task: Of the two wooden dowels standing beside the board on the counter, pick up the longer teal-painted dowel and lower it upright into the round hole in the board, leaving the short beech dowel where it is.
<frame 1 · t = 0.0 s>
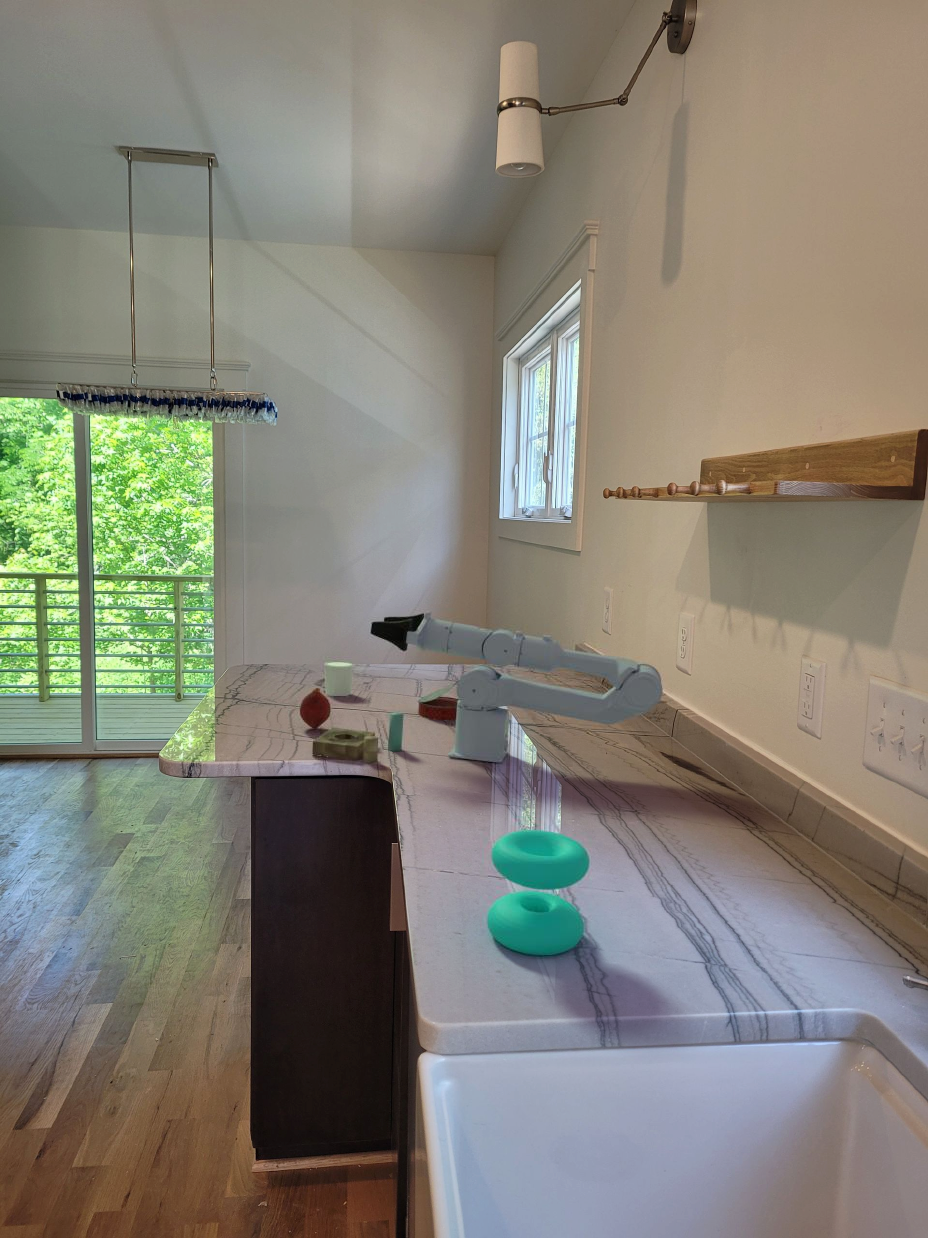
hand: (377, 625, 157), 22 cm above the counter, tool horizontal, fingers open, 7 cm apart
board: (344, 750, 153), on the counter
canned food: (441, 716, 185), on the counter
donuts: (534, 938, 91), on the counter
white short cylinder: (338, 695, 198), on the counter
short dowel: (370, 760, 148), on the counter
long dowel: (394, 749, 156), on the counter
onion: (314, 729, 167), on the counter
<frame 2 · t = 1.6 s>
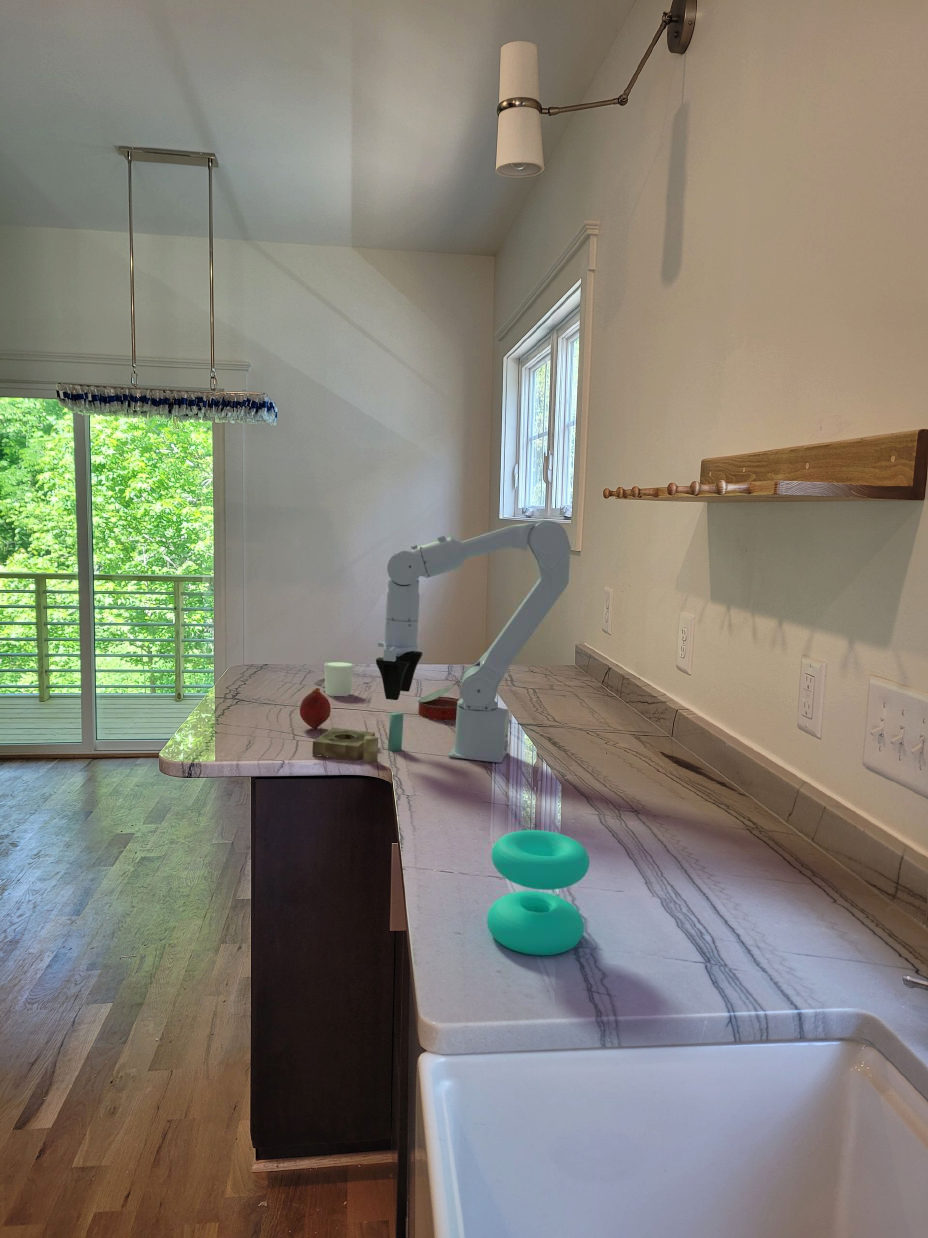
hand: (397, 695, 155), 10 cm above the counter, tool pointing down, fingers open, 7 cm apart
nothing on the counter moved.
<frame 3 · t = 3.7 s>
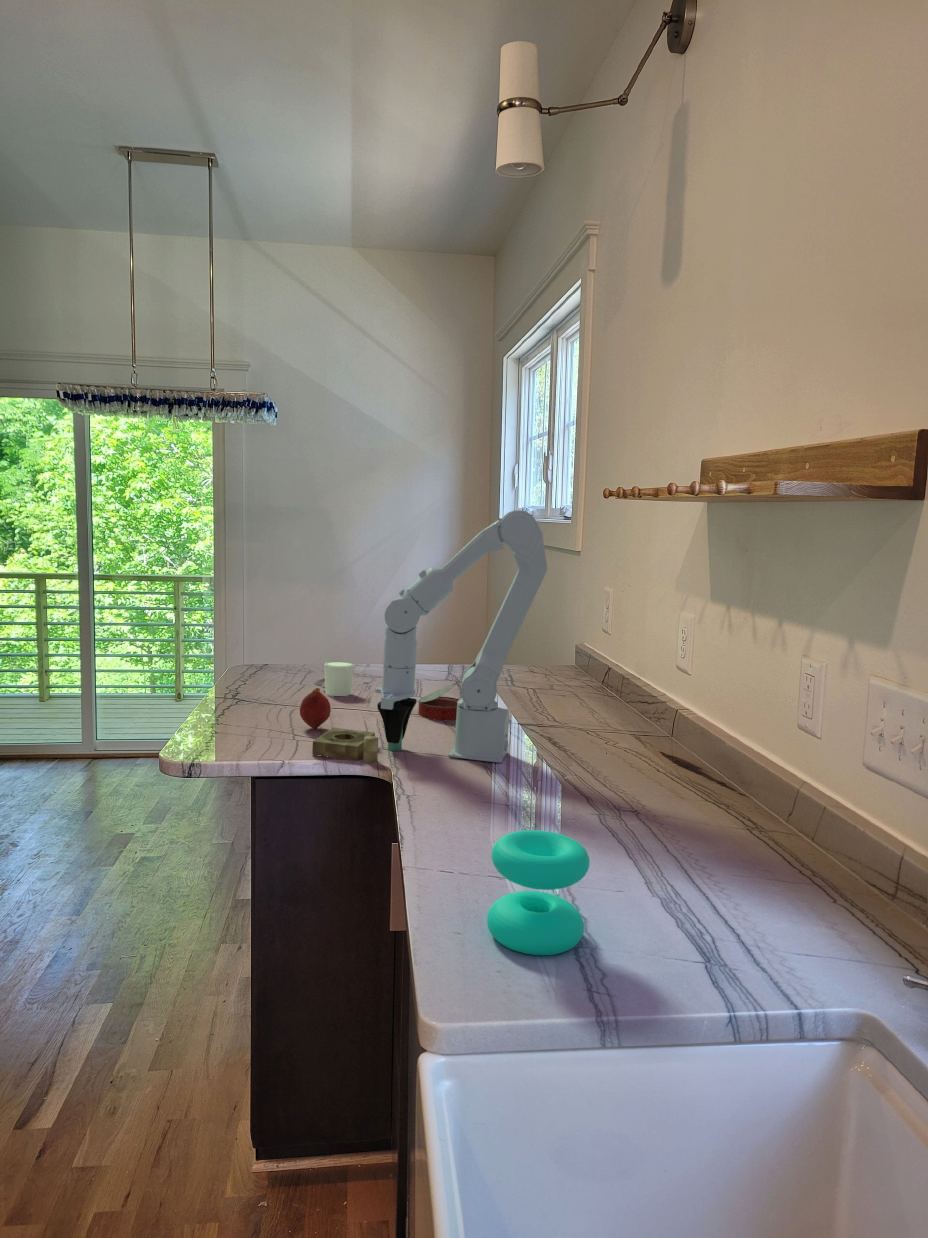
hand: (395, 740, 156), 2 cm above the counter, tool pointing down, fingers closed on long dowel, 2 cm apart
long dowel: (394, 749, 156), on the counter, touching gripper
everything else where it was.
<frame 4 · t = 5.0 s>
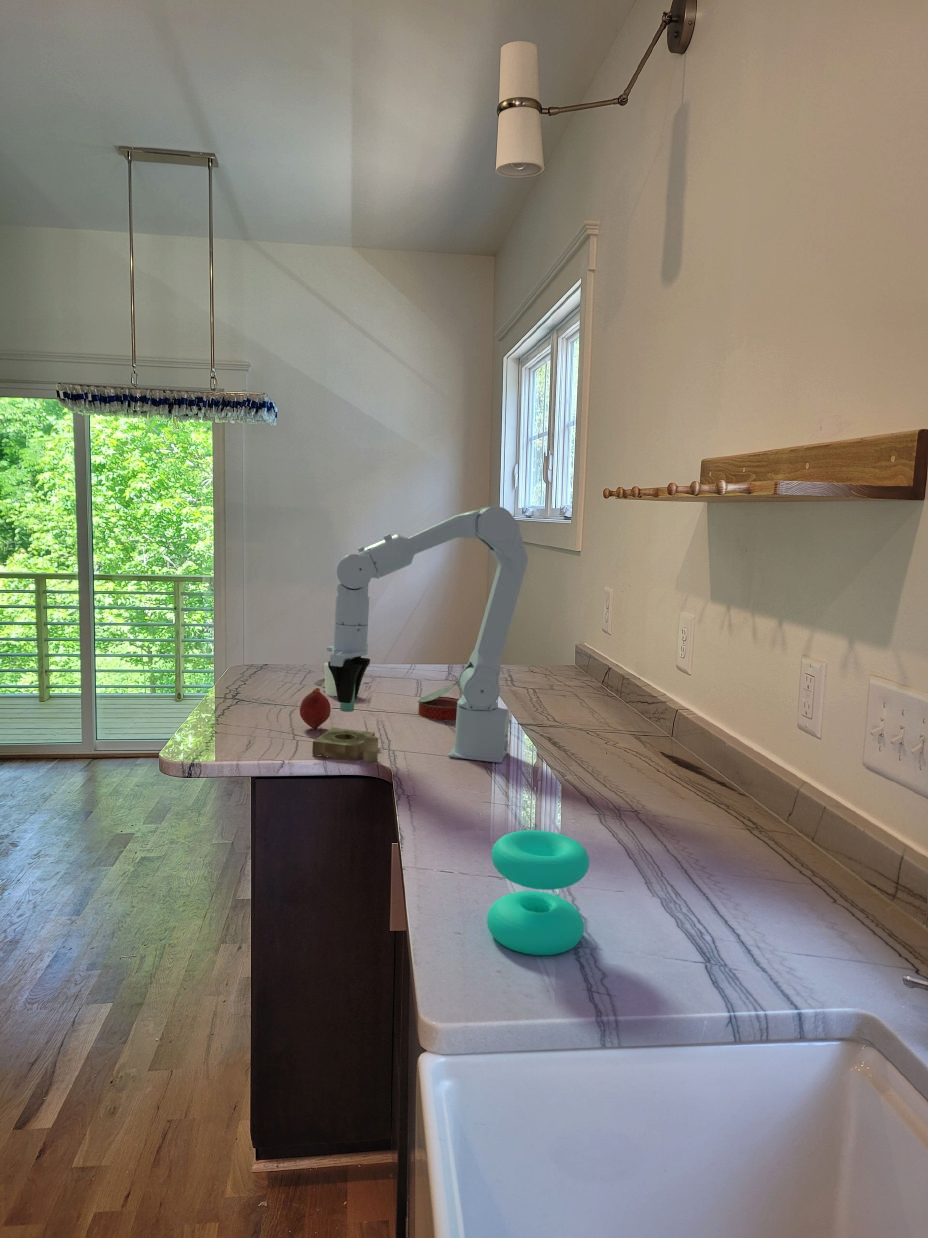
hand: (347, 700, 152), 9 cm above the counter, tool pointing down, fingers closed on long dowel, 2 cm apart
long dowel: (346, 710, 153), point 7 cm above the counter, touching gripper
everything else where it was.
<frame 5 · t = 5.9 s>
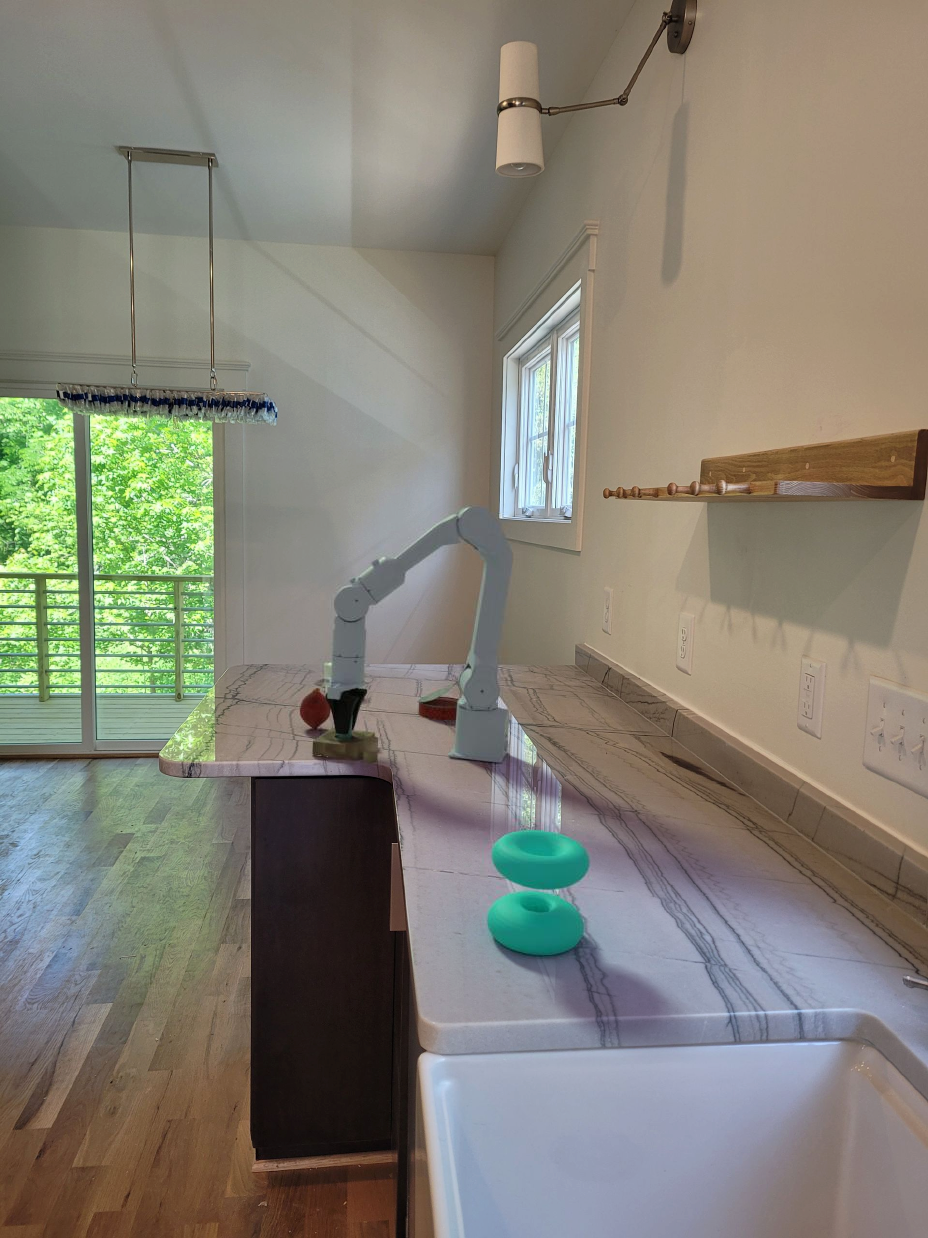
hand: (344, 731, 153), 3 cm above the counter, tool pointing down, fingers closed on long dowel, 2 cm apart
long dowel: (344, 741, 153), point 2 cm above the counter, touching gripper
everything else where it was.
when the fingers open (3 cm above the counter, at t = 6.6 s): long dowel drops 1 cm, resting in board.
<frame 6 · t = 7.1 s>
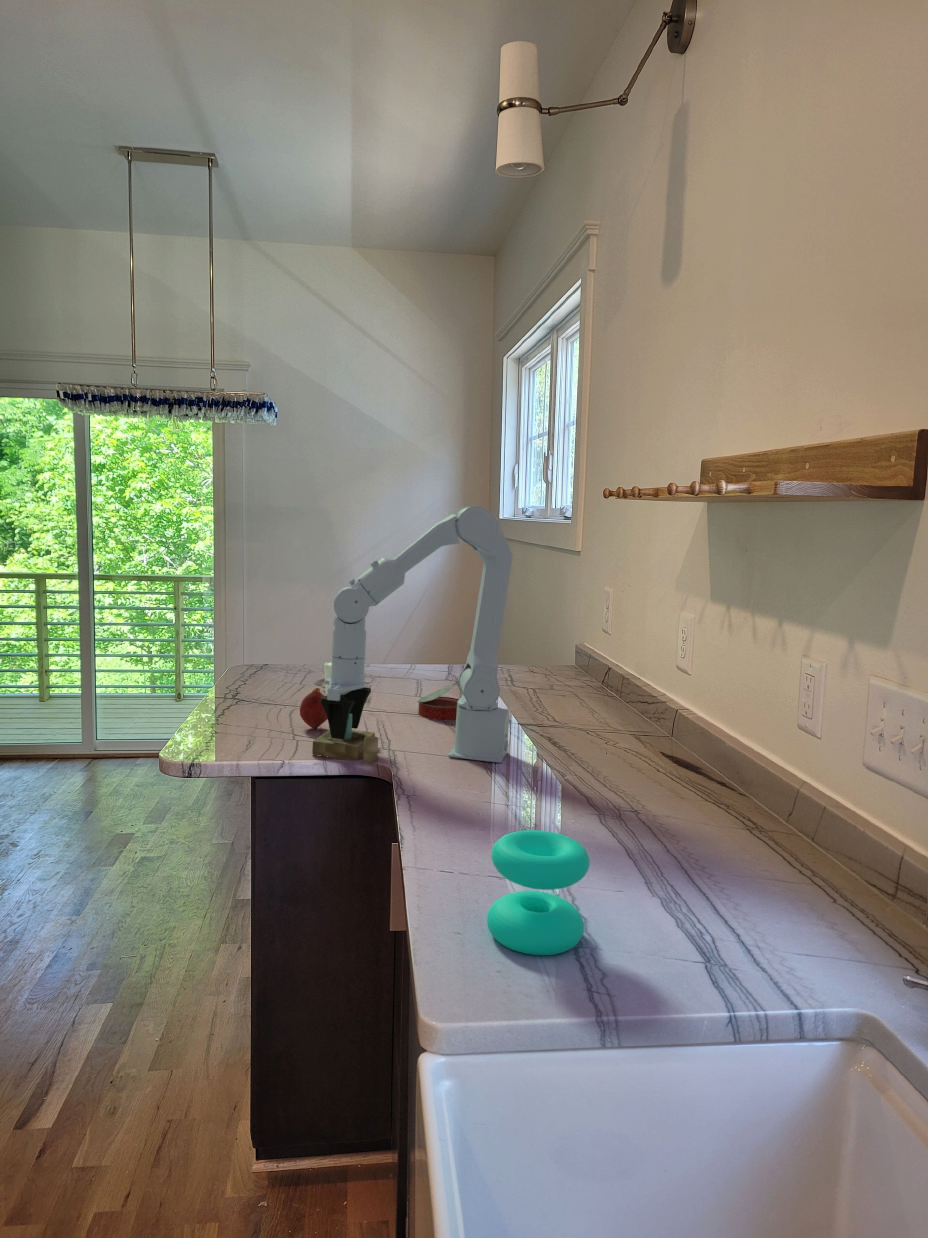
hand: (344, 732, 153), 3 cm above the counter, tool pointing down, fingers open, 7 cm apart
long dowel: (343, 750, 153), resting in board
everything else where it was.
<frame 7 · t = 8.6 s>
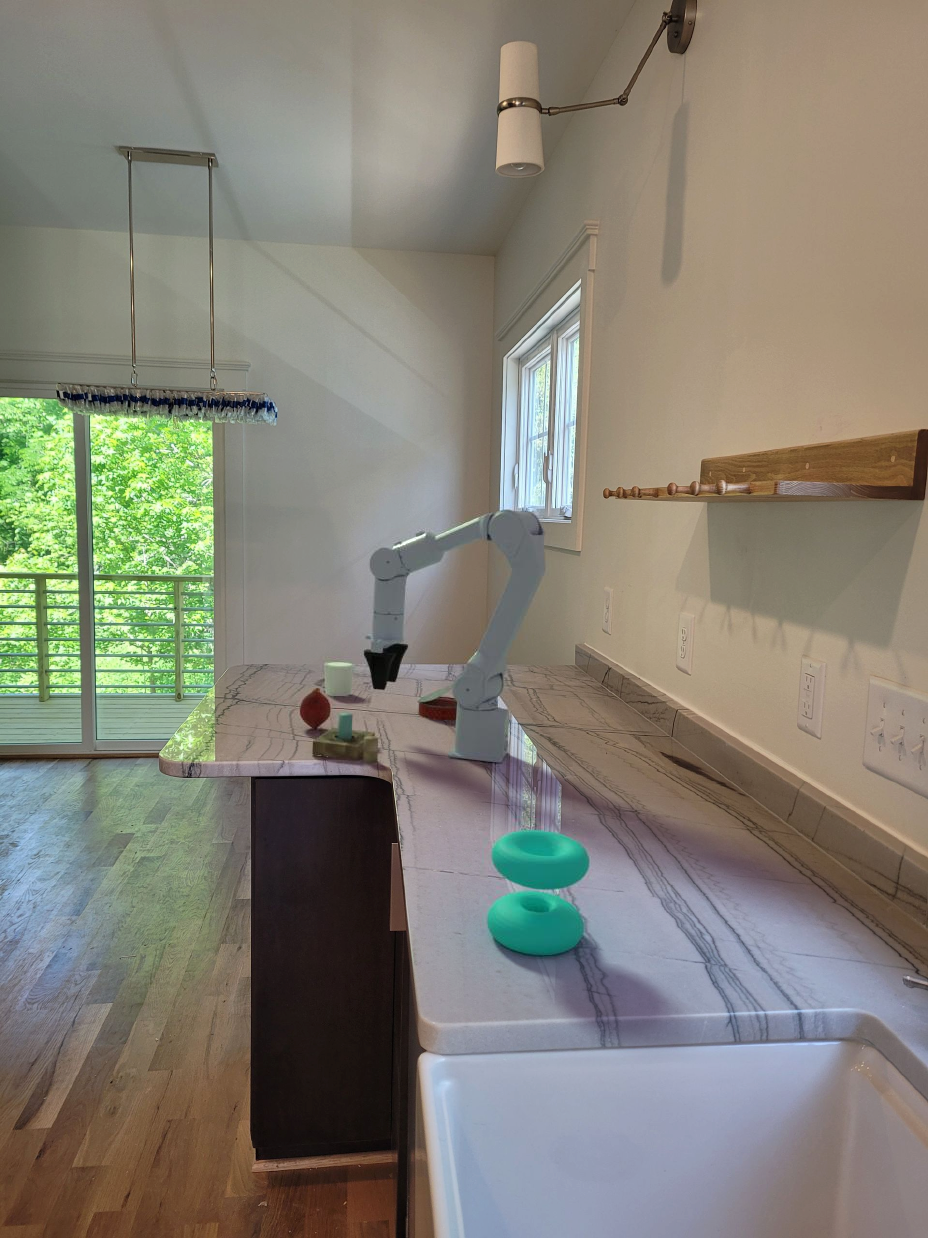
hand: (384, 685, 163), 10 cm above the counter, tool pointing down, fingers open, 7 cm apart
nothing on the counter moved.
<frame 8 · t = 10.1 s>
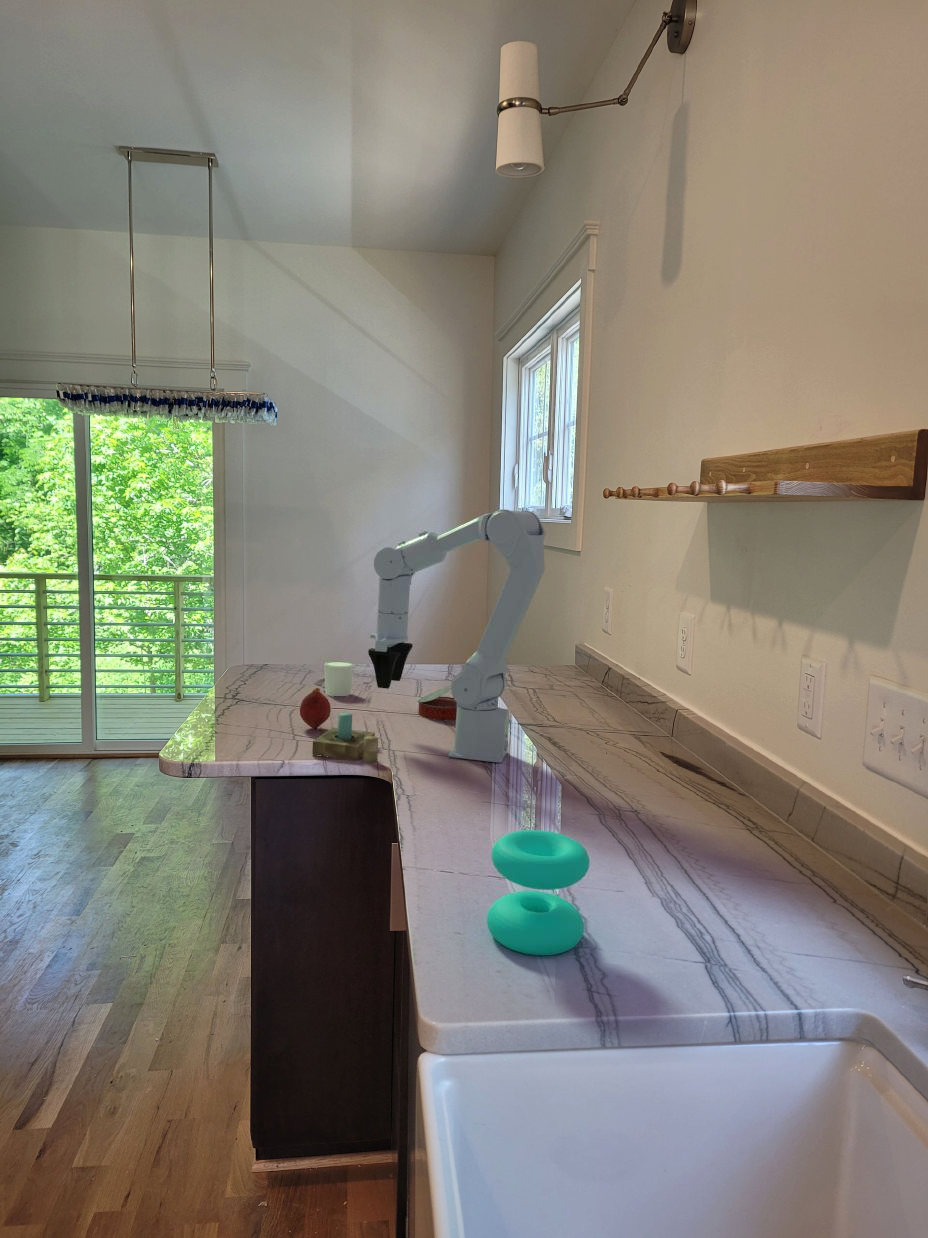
hand: (389, 684, 164), 10 cm above the counter, tool pointing down, fingers open, 7 cm apart
nothing on the counter moved.
at the end: long dowel 0.0 cm off-centre in the board, point 0.0 cm above the board's base; long dowel tilted 0°; short dowel moved 0.0 cm from its start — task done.
